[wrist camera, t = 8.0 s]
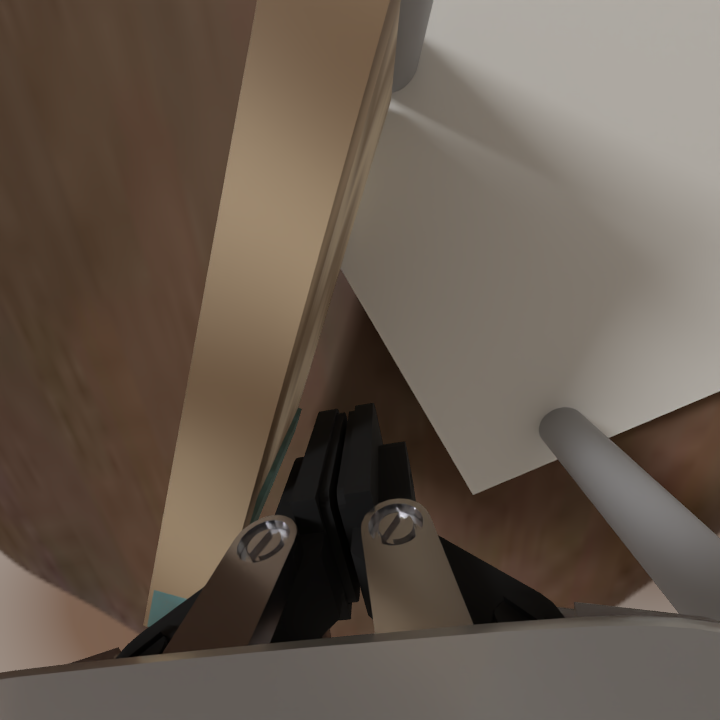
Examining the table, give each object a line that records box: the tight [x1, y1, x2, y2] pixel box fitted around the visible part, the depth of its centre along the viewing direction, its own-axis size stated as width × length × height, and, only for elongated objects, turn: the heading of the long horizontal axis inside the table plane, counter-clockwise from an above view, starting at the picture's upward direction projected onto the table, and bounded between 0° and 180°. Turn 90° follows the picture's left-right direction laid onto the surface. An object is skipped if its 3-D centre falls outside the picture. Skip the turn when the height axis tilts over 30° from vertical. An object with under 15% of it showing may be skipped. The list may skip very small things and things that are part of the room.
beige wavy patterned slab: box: [143, 0, 401, 627], centre depth 12 cm, size 16×2×11 cm, turn 161°
